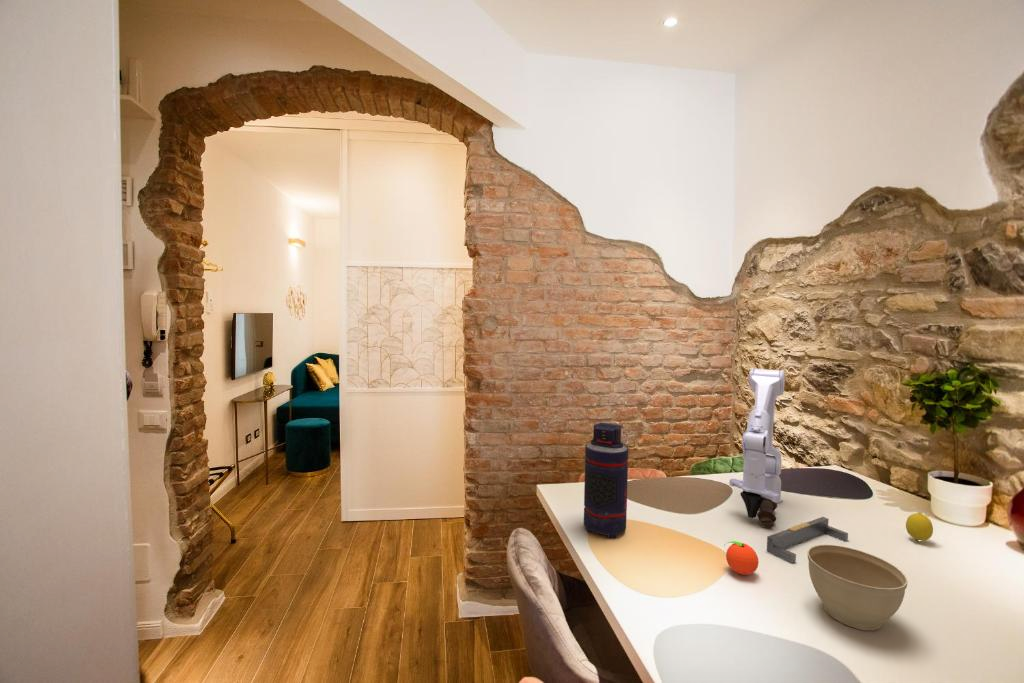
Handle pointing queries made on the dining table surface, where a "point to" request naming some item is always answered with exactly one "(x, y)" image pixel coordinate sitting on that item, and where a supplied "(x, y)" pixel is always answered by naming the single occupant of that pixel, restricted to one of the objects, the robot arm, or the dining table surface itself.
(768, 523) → the bolt
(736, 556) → the orange-red round fruit
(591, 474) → the grenade
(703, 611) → the dining table surface
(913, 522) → the lemon
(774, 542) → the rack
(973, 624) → the dining table surface
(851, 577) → the planter bowl
